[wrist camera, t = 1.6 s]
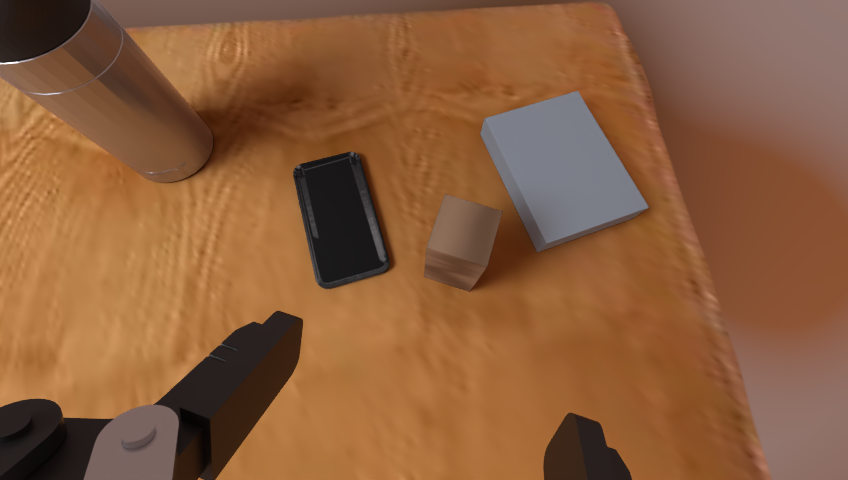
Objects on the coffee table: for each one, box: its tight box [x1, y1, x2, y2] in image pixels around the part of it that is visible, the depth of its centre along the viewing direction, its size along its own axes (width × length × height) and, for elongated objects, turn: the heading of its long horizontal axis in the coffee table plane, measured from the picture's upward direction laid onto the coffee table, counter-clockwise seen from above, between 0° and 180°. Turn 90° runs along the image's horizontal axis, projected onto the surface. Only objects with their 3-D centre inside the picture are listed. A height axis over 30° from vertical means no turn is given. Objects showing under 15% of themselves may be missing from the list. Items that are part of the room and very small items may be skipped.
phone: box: [293, 152, 390, 289], centre depth 40 cm, size 8×1×15 cm
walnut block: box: [424, 194, 502, 292], centre depth 34 cm, size 5×5×10 cm
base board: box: [480, 91, 649, 252], centre depth 41 cm, size 16×12×3 cm
